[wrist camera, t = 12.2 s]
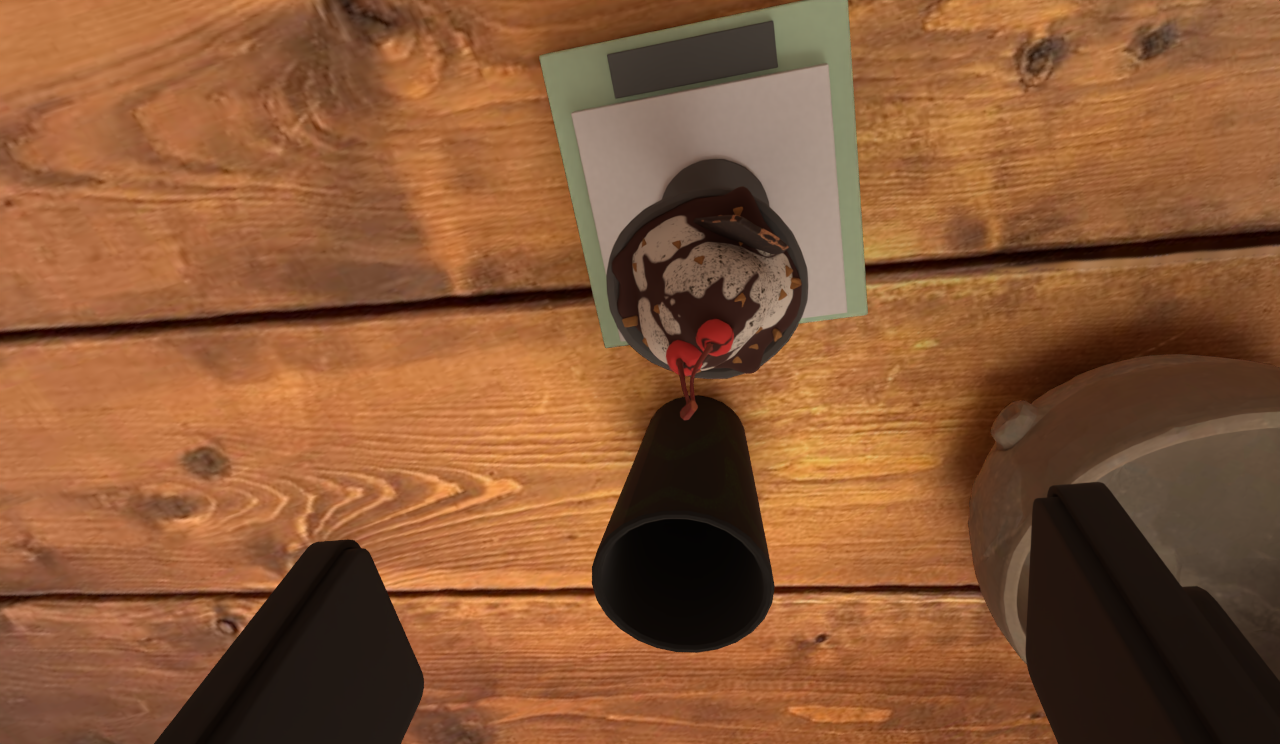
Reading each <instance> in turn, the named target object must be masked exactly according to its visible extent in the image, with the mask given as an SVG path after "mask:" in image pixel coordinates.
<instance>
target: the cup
mask: <svg viewBox="0 0 1280 744" xmlns="http://www.w3.org/2000/svg"><path fill="white" fill-rule="evenodd" d="M689 398H690V396H689ZM690 401H691V398H690ZM695 402H696V404H697V405H698V408H697V410H696V411H695V412H694V414H693V415H692V416H691V417H690V419H689V420H683V419H682V418H681V417H680V411H681V409H682V408H683V407H684V406H686V399H685V397H681V398H677V399H674V400H672V401H670V402H668V403H666V404H665V405H664V406H662V407H661V408H660V409H659V410H658V411H657V412H656V413H655V415H654V416H653V418H652V419H651V421H650V424H649V426H648V429H647V431H646V433H645V436H644V438H643V441H642V443H641V446H640V448H639V451H638V453H637V455H636V458H635V460H634V463H633V465H632V468H631V470H630V472H629V475H628V477H627V480H626V482H625V485H624V487H623V490H622V492H621V494H620V497H619V499H618V502H617V504H616V507H615V509H614V511H613V514H612V516H611V519H610V521H609V524H608V526H607V528H606V531H605V533H604V536H603V538H602V541H601V543H600V546H599V548H598V550H597V553H596V557H595V560H594V563H593V566H592V585H593V588H594V592H595V595H596V598H597V601H598V603H599V604H600V606H601V607H602V609H603V611H604V612H605V614H606V615H607V616H608V617H609V618H610V619H611V620H612V621H613V622H614V623H615V624H616V625H617V626H618V627H619V628H620V629H621V630H623V631H624V632H626V633H627V634H629V635H630V636H632V637H634V638H635V639H637V640H638V641H641V642H643V643H646V644H648V645H651V646H653V647H656V648H660V649H665V650H670V651H674V652H696V653H697V652H704V651H710V650H716V649H719V648H722V647H725V646H728V645H730V644H733V643H736V642H738V641H739V640H741V639H742V638H744V637H745V636H747V635H748V634H750V633H751V632H753V631H754V630H755V628H756V627H757V626H758V625H759V624H760V623H761V622H762V621H763V620H764V619H765V617H766V615H767V612H768V610H769V608H770V606H771V604H772V600H773V593H774V581H773V575H772V569H771V564H770V559H769V554H768V549H767V543H766V538H765V533H764V528H763V523H762V518H761V513H760V508H759V502H758V497H757V492H756V487H755V482H754V477H753V472H752V467H751V461H750V456H749V451H748V446H747V441H746V436H745V431H744V427H743V425H742V423H741V421H740V419H739V417H738V416H737V415H736V414H735V413H734V411H733V410H732V409H730V408H729V407H728V406H726V405H725V404H724V403H722V402H720V401H717V400H715V399H713V398H709V397H704V396H695Z"/></svg>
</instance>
